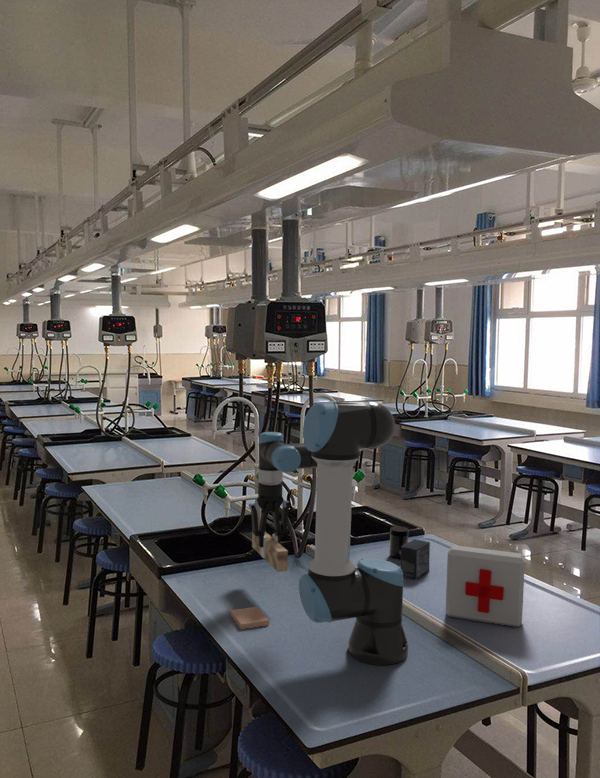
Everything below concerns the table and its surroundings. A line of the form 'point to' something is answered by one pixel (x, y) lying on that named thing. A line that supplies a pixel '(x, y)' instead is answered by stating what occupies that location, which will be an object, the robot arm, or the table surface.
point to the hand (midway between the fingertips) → (269, 556)
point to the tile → (249, 617)
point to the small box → (415, 558)
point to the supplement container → (397, 540)
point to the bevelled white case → (485, 585)
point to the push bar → (272, 552)
